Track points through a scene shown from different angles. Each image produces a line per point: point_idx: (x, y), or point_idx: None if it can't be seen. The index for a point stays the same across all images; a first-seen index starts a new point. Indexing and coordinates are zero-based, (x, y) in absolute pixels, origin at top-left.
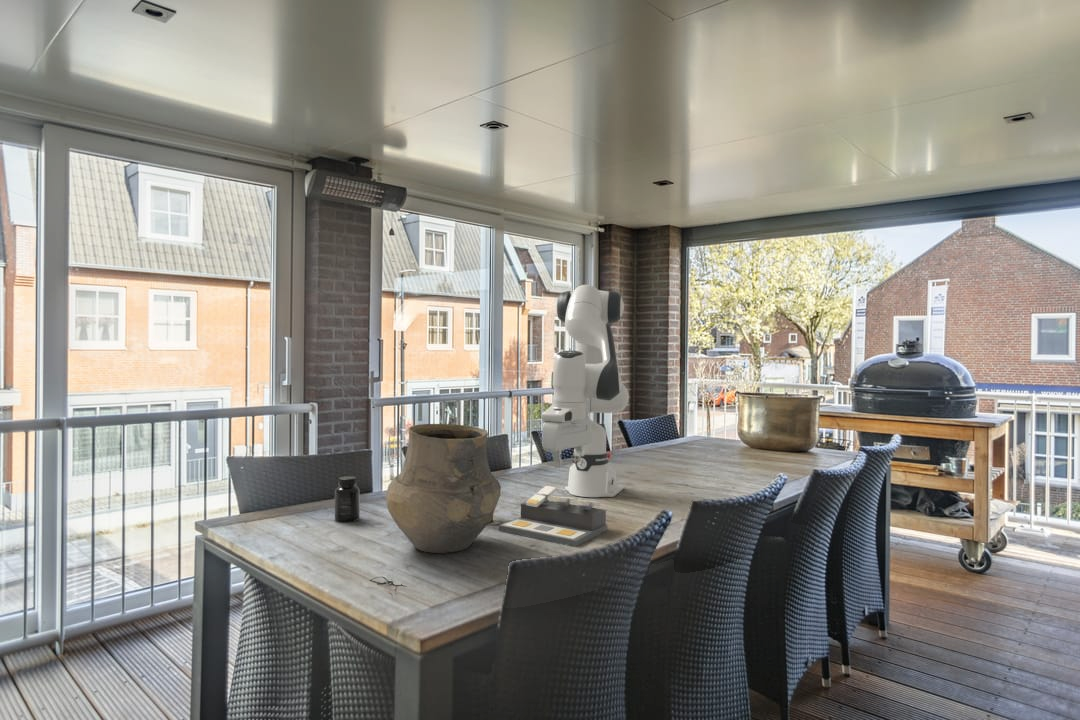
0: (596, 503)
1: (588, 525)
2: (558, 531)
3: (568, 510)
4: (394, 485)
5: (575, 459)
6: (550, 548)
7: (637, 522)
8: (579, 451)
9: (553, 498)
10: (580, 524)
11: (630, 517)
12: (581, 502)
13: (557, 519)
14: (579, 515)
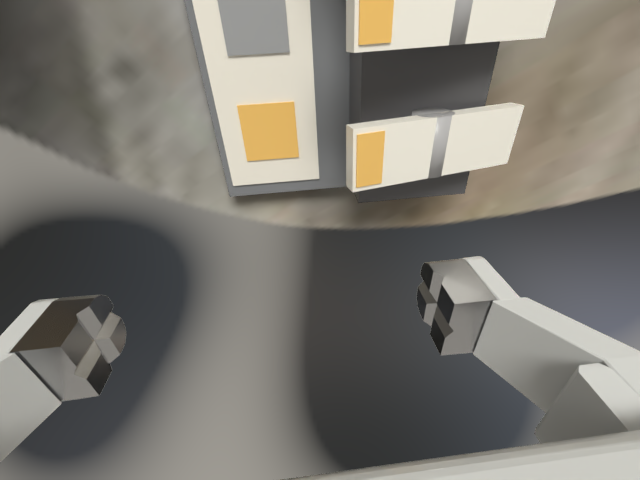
0: (477, 166)
1: None
2: (263, 98)
3: (384, 76)
4: None
5: (436, 302)
6: (158, 140)
7: (549, 197)
8: (532, 383)
9: (351, 4)
10: None
11: (604, 155)
12: (351, 189)
13: None
14: None
